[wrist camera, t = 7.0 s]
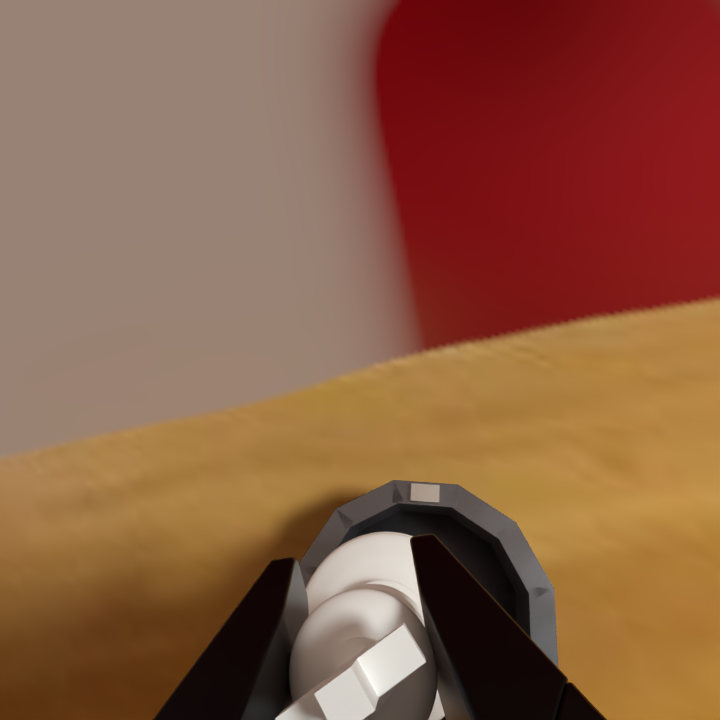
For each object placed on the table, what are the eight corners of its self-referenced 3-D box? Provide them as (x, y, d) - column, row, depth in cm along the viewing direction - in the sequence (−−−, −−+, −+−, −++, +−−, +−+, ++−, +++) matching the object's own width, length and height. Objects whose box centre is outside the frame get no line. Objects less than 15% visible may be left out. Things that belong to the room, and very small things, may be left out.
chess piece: (516, 657, 14) (732, 808, 4) (360, 778, 13) (239, 1254, 4) (408, 498, 15) (406, 376, 6) (267, 596, 15) (34, 617, 6)
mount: (538, 756, 18) (567, 797, 15) (298, 725, 19) (272, 757, 16) (528, 504, 21) (550, 490, 18) (324, 489, 22) (307, 473, 19)
